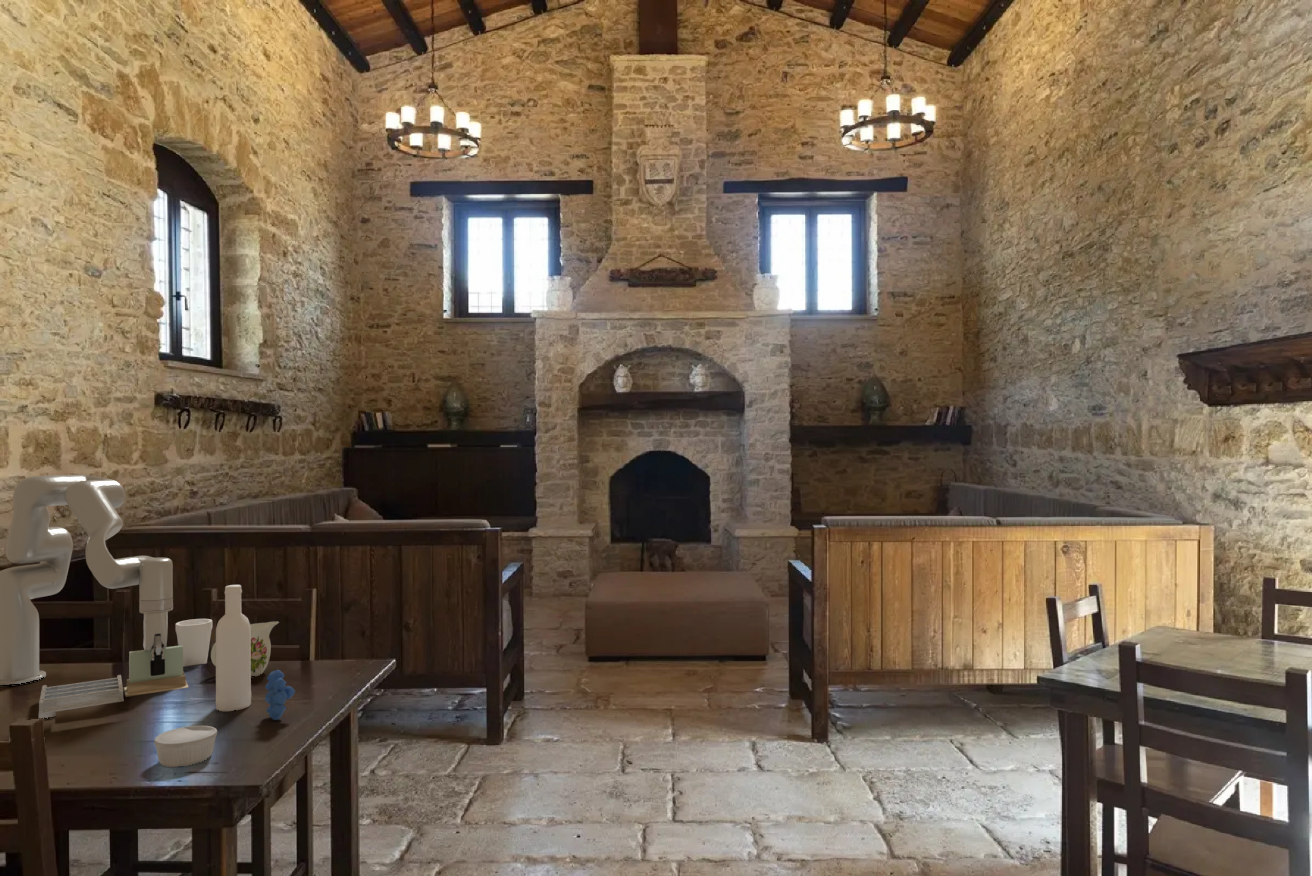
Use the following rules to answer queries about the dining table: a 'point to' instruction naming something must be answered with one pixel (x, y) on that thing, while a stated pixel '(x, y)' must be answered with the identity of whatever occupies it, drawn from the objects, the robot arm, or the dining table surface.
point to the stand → (155, 685)
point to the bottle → (233, 655)
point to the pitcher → (256, 647)
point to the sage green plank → (141, 664)
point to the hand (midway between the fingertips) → (156, 670)
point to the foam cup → (194, 640)
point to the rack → (79, 695)
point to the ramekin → (185, 745)
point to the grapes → (277, 694)
